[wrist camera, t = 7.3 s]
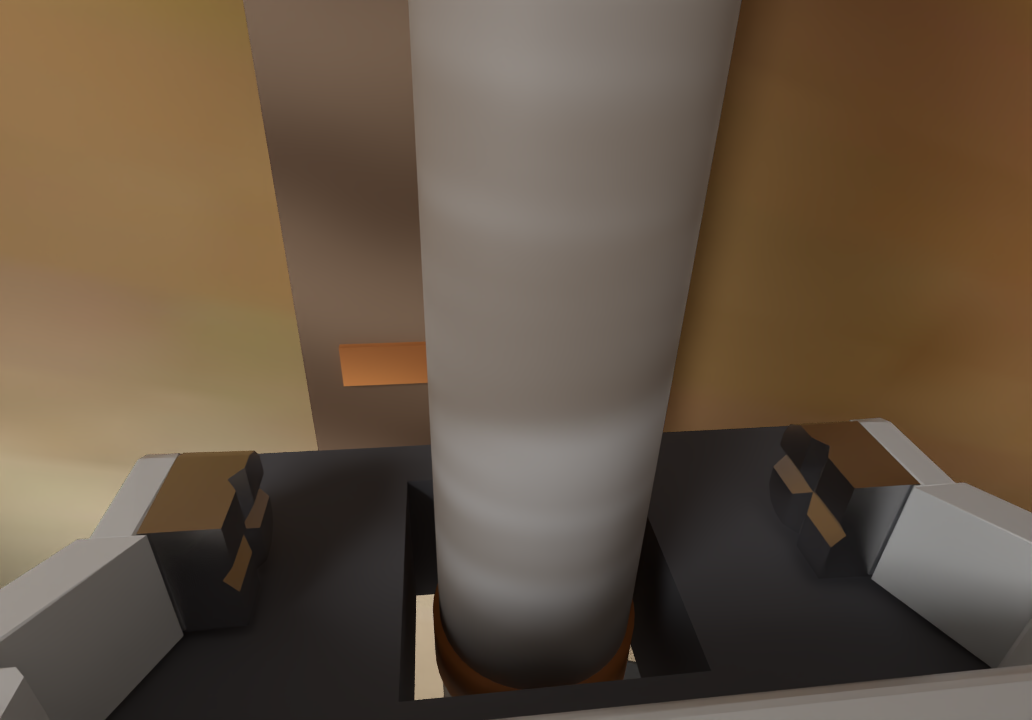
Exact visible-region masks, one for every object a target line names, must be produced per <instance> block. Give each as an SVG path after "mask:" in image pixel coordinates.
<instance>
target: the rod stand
mask: <svg viewBox="0 0 1032 720" xmlns="http://www.w3.org/2000/svg"><path fill="white" fill-rule="evenodd" d="M741 1H742V0H243V3H244V9H245V15H246V21H247V27H248V33H249V38H250V44H251V50H252V56H253V62H254V68H255V74H256V80H257V86H258V92H259V98H260V104H261V110H262V116H263V122H264V128H265V134H266V140H267V146H268V152H269V158H270V164H271V170H272V176H273V182H274V188H275V194H276V200H277V206H278V212H279V218H280V224H281V230H282V236H283V242H284V248H285V254H286V260H287V266H288V272H289V278H290V284H291V290H292V296H293V302H294V308H295V314H296V320H297V326H298V332H299V338H300V343H301V349H302V355H303V361H304V367H305V373H306V379H307V385H308V391H309V397H310V403H311V409H312V415H313V421H314V427H315V433H316V439H317V445H318V451H321V450H340V449H359V448H379V447H398V446H417V445H431V455H432V474H433V493H434V513H435V532H436V552H437V571H438V584H437V587H436V591H435V595H434V602H433V618H434V634H435V651H436V661H437V665H438V670H439V673H440V676H441V678H442V681H443V688H444V697H453V696H464V695H474V694H484V693H494V692H504V691H514V690H524V689H534V688H544V687H555V686H565V685H575V684H585V683H595V682H605V681H615V680H623V678H624V675H625V670H626V665H627V660H628V655H629V650H630V645H631V639H632V634H633V629H634V618H635V613H634V604H633V600H632V597H633V592H634V586H635V581H636V576H637V570H638V565H639V559H640V554H641V548H642V543H643V537H644V532H645V526H646V521H647V515H648V510H649V504H650V499H651V493H652V488H653V482H654V477H655V472H656V466H657V461H658V455H659V450H660V444H661V439H662V433H663V428H664V422H665V417H666V411H667V406H668V400H669V395H670V389H671V384H672V379H673V373H674V368H675V362H676V357H677V351H678V346H679V340H680V335H681V329H682V324H683V318H684V313H685V307H686V302H687V296H688V291H689V286H690V280H691V275H692V269H693V264H694V258H695V253H696V247H697V242H698V236H699V231H700V225H701V220H702V214H703V209H704V203H705V198H706V193H707V187H708V182H709V176H710V171H711V165H712V160H713V154H714V149H715V143H716V138H717V132H718V127H719V121H720V116H721V110H722V105H723V99H724V94H725V89H726V83H727V78H728V72H729V67H730V61H731V56H732V50H733V45H734V39H735V34H736V28H737V23H738V17H739V12H740V6H741Z"/></svg>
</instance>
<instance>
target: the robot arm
mask: <svg viewBox="0 0 1032 720" xmlns="http://www.w3.org/2000/svg"><path fill="white" fill-rule="evenodd" d="M780 446H781V448H782V450H783V451H784V453H785V456H784V457H783V458H782V459H781V460H780V461H779V462H778V463H777V464H775V465H774V466H773V469H772V473H771V477H770V481H769V488H770V500H771V503H772V505H773V508H774V511H775V513H776V515H777V516H778V518H779V519H780V521H781V522H782V524H783V525H785V526H787V527H788V528H790V529H791V530H793V531H795V532H796V533H798V534H799V535H798V540H797V545H796V546H797V547H798V549H799V550H800V552H801V553H802V555H803V556H804V558H805V559H806V561H807V562H808V564H809V565H810V567H811V568H812V570H813V571H814V573H815V574H816V576H817V577H818V579H826V578H845V577H864V576H872V578H871V579H872V580H873V581H875V582H876V583H877V584H879V585H880V586H882V587H883V588H884V589H886V590H887V591H888V592H890V593H891V594H892V595H894V596H895V597H896V598H898V599H899V600H901V601H902V602H903V603H905V604H906V605H907V606H909V607H910V608H911V609H913V610H914V611H915V612H917V613H918V614H919V615H921V616H922V617H924V618H925V619H926V620H928V621H929V622H930V623H932V624H933V625H934V626H936V627H937V628H938V629H940V630H941V631H943V632H944V633H945V634H947V635H948V636H949V637H951V638H952V639H953V640H955V641H956V642H957V643H959V644H960V645H962V646H963V647H964V648H966V649H967V650H968V651H970V652H971V653H972V654H974V655H975V656H976V657H978V658H979V659H981V660H982V661H983V662H985V663H986V664H987V665H989V666H990V667H991V668H992V669H982V670H972V671H962V672H952V673H943V674H933V675H923V676H913V677H903V678H894V679H884V680H874V681H865V682H855V683H845V684H836V685H826V686H816V687H807V688H797V689H787V690H777V691H768V692H758V693H748V694H739V695H729V696H719V697H710V698H700V699H690V700H680V701H670V702H660V703H650V704H640V705H631V706H621V707H611V708H601V709H591V710H581V711H571V712H562V713H552V714H542V715H532V716H522V717H512V718H502V719H493V720H1032V513H1031V512H1029V511H1027V510H1025V509H1022V508H1020V507H1018V506H1016V505H1013V504H1011V503H1009V502H1007V501H1005V500H1002V499H1000V498H998V497H996V496H993V495H991V494H989V493H987V492H985V491H982V490H980V489H978V488H976V487H973V486H971V485H969V484H967V483H955V482H954V481H953V480H952V479H951V478H950V477H948V476H947V475H946V474H945V473H944V472H943V471H942V470H941V469H940V468H939V467H938V466H937V465H936V464H935V463H934V462H933V461H931V460H930V459H929V458H928V457H927V456H926V455H925V454H924V453H923V452H922V451H921V450H920V449H919V448H918V447H917V446H916V445H914V444H913V443H912V442H911V441H910V440H909V439H908V438H907V437H906V436H905V435H904V434H903V433H902V432H901V431H900V430H899V429H897V428H896V427H895V426H894V425H893V424H892V423H891V422H889V421H887V420H885V419H882V418H870V419H857V420H850V421H841V422H823V423H805V424H790V425H789V427H788V428H787V429H786V430H785V431H784V434H783V437H782V440H781V443H780ZM263 475H264V470H263V467H262V463H261V459H260V455H259V454H258V453H256V452H255V451H230V452H196V453H183V454H180V453H174V454H149V455H145V456H143V457H141V458H140V459H138V460H137V462H136V463H135V465H134V466H133V468H132V470H131V471H130V473H129V475H128V476H127V478H126V479H125V481H124V483H123V484H122V486H121V488H120V489H119V491H118V492H117V494H116V496H115V497H114V499H113V501H112V502H111V504H110V505H109V507H108V509H107V510H106V512H105V514H104V515H103V517H102V518H101V520H100V522H99V523H98V525H97V527H96V528H95V530H94V531H93V533H92V535H91V536H90V538H89V539H77V540H75V541H74V542H72V543H71V544H69V545H68V546H66V547H65V548H63V549H61V550H60V551H58V552H57V553H55V554H54V555H52V556H51V557H49V558H48V559H46V560H44V561H43V562H41V563H40V564H38V565H37V566H35V567H34V568H32V569H31V570H29V571H27V572H26V573H24V574H23V575H21V576H20V577H18V578H17V579H15V580H14V581H12V582H10V583H9V584H7V585H6V586H4V587H3V588H1V589H0V720H105V719H106V718H107V717H108V716H109V715H110V714H111V713H112V712H113V710H114V709H115V708H116V707H117V706H118V705H119V704H120V703H121V702H122V701H123V700H124V699H125V698H126V697H127V696H128V694H129V693H130V692H131V691H132V690H133V689H134V688H135V687H136V686H137V685H138V684H139V683H140V682H141V681H142V680H143V678H144V677H145V676H146V675H147V674H148V673H149V672H150V671H151V670H152V669H153V668H154V667H155V666H156V665H157V664H158V662H159V661H160V660H161V659H162V658H163V657H164V656H165V655H166V654H167V653H168V652H169V651H170V650H171V649H172V648H173V646H174V645H175V644H176V643H177V642H178V641H179V640H180V639H181V638H182V637H183V632H188V631H198V630H207V629H216V628H225V627H235V626H244V625H249V623H250V620H251V616H252V613H253V609H254V606H255V602H256V599H257V595H258V592H259V588H260V581H259V577H258V573H257V569H258V568H259V567H260V566H261V565H262V564H263V563H264V562H266V561H267V559H268V556H269V552H270V548H271V544H272V533H273V514H272V506H271V501H270V497H269V495H268V494H266V493H265V492H264V491H263V490H261V489H260V488H259V487H260V484H261V481H262V478H263Z"/></svg>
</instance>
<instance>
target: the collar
mask: <svg viewBox="0 0 1032 720" xmlns="http://www.w3.org/2000/svg"><path fill="white" fill-rule="evenodd" d="M788 427H789V426H780V427H760V428H741V429H722V430H703V431H684V432H665V433H662V439H661V444H660V450H659V455H658V461H657V466H656V472H655V477H654V482H653V488H652V493H651V499H650V504H649V510H648V515H647V521H646V526H645V532H644V537H643V543H642V548H641V554H640V559H639V565H638V570H637V576H636V581H635V586H634V592H633V597H632V600H633V604H634V613H635V618H634V629H633V634H632V639H631V647H632V650H633V654H634V657H635V660H636V663H637V667H638V670H639V673H640V676H641V678H635V679H625V680H615V681H605V682H595V683H585V684H575V685H565V686H555V687H544V688H534V689H524V690H514V691H504V692H494V693H484V694H474V695H464V696H453V697H443V698H433V699H423V700H414V690H415V634H416V595H429V594H435V591H436V587H437V584H438V571H437V552H436V532H435V513H434V493H433V474H432V455H431V445H417V446H398V447H379V448H359V449H340V450H321V451H302V452H283V453H264V454H259V455H260V459H261V463H262V467H263V470H264V475H263V478H262V481H261V484H260V487H259V488H260V489H261V490H263V491H264V492H265V493H266V494H268V495H269V497H270V501H271V506H272V514H273V533H272V544H271V548H270V552H269V556H268V559H267V561H266V562H264V563H263V564H262V565H261V566H260V567H259V568H258V569H257V573H258V577H259V581H260V588H259V592H258V595H257V599H256V602H255V606H254V609H253V613H252V616H251V620H250V623H249V625H244V626H235V627H225V628H216V629H207V630H198V631H188V632H183V637H182V638H181V639H180V640H179V641H178V642H177V643H176V644H175V645H174V646H173V648H172V649H171V650H170V651H169V652H168V653H167V654H166V655H165V656H164V657H163V658H162V659H161V660H160V661H159V662H158V664H157V665H156V666H155V667H154V668H153V669H152V670H151V671H150V672H149V673H148V674H147V675H146V676H145V677H144V678H143V680H142V681H141V682H140V683H139V684H138V685H137V686H136V687H135V688H134V689H133V690H132V691H131V692H130V693H129V694H128V696H127V697H126V698H125V699H124V700H123V701H122V702H121V703H120V704H119V705H118V706H117V707H116V708H115V709H114V710H113V712H112V713H111V714H110V715H109V716H108V717H107V718H106V719H105V720H493V719H502V718H512V717H522V716H532V715H542V714H552V713H562V712H571V711H581V710H591V709H601V708H611V707H621V706H631V705H640V704H650V703H660V702H670V701H680V700H690V699H700V698H710V697H719V696H729V695H739V694H748V693H758V692H768V691H777V690H787V689H797V688H807V687H816V686H826V685H836V684H845V683H855V682H865V681H874V680H884V679H894V678H903V677H913V676H923V675H933V674H943V673H952V672H962V671H972V670H982V669H992V668H991V667H990V666H989V665H987V664H986V663H985V662H983V661H982V660H981V659H979V658H978V657H976V656H975V655H974V654H972V653H971V652H970V651H968V650H967V649H966V648H964V647H963V646H962V645H960V644H959V643H957V642H956V641H955V640H953V639H952V638H951V637H949V636H948V635H947V634H945V633H944V632H943V631H941V630H940V629H938V628H937V627H936V626H934V625H933V624H932V623H930V622H929V621H928V620H926V619H925V618H924V617H922V616H921V615H919V614H918V613H917V612H915V611H914V610H913V609H911V608H910V607H909V606H907V605H906V604H905V603H903V602H902V601H901V600H899V599H898V598H896V597H895V596H894V595H892V594H891V593H890V592H888V591H887V590H886V589H884V588H883V587H882V586H880V585H879V584H877V583H876V582H875V581H873V580H872V579H871V578H872V576H864V577H845V578H826V579H818V577H817V576H816V574H815V573H814V571H813V570H812V568H811V567H810V565H809V564H808V562H807V561H806V559H805V558H804V556H803V555H802V553H801V552H800V550H799V549H798V547H797V546H796V545H797V540H798V535H799V534H798V533H796V532H795V531H793V530H791V529H790V528H788V527H787V526H785V525H783V524H782V522H781V521H780V519H779V518H778V516H777V515H776V513H775V511H774V508H773V505H772V503H771V500H770V488H769V481H770V477H771V473H772V469H773V466H774V465H775V464H777V463H778V462H779V461H780V460H781V459H782V458H783V457H784V456H785V453H784V451H783V450H782V448H781V446H780V443H781V440H782V437H783V434H784V431H785V430H786V429H787V428H788Z"/></svg>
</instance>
